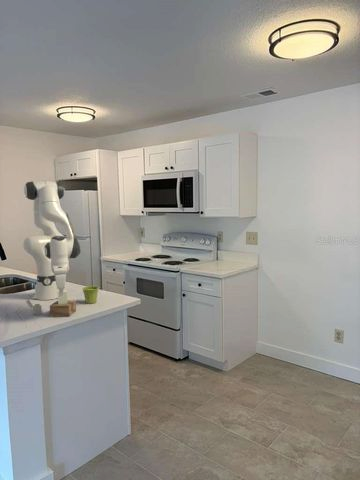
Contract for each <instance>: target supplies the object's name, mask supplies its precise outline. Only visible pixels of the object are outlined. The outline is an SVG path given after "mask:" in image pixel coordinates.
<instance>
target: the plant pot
mask: <svg viewBox="0 0 360 480" xmlns="http://www.w3.org/2000/svg"><path fill="white" fill-rule="evenodd" d="M99 289H100V287H99V286H95V285H94V286H93V285H92V286H91V285H90V286H84V287H82V288H81V290H82V292H83V295H84V300H85V303H86V304H88V305H89V304H96V303H97V300H98V292H99Z"/></svg>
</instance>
